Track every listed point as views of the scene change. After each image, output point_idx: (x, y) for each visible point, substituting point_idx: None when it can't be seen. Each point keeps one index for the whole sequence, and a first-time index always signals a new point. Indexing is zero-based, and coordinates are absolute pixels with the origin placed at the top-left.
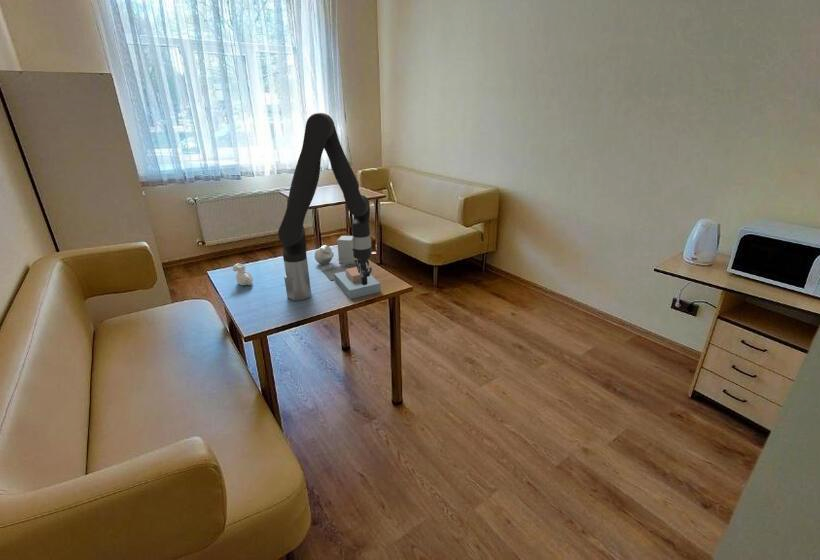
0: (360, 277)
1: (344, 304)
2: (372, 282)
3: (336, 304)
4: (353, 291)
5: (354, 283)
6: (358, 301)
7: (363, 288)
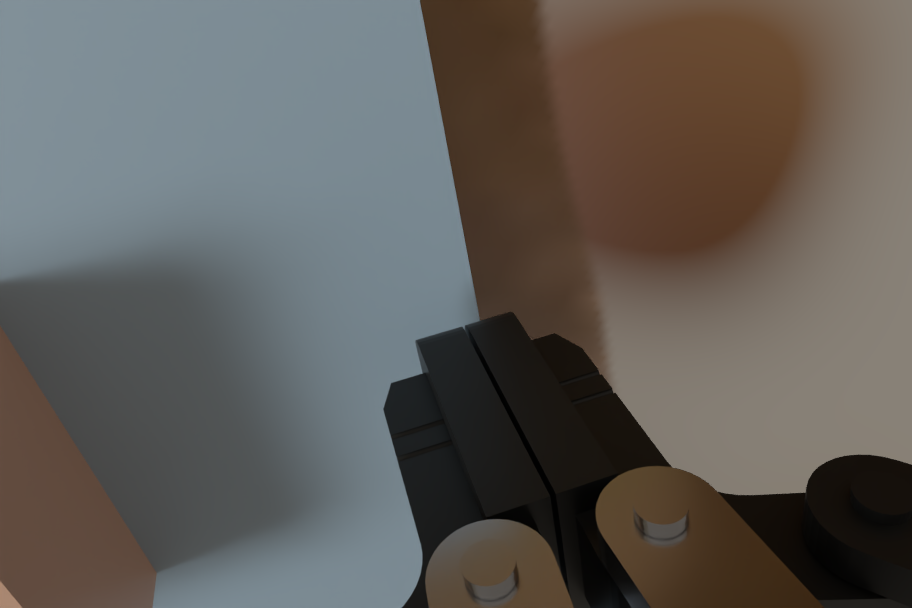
0: (32, 500)
1: None
2: (246, 103)
3: None
4: None
5: (218, 543)
6: (604, 357)
7: None
